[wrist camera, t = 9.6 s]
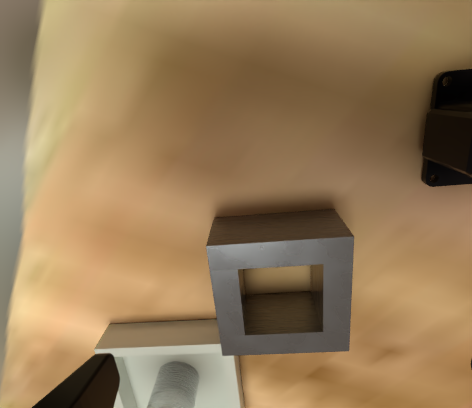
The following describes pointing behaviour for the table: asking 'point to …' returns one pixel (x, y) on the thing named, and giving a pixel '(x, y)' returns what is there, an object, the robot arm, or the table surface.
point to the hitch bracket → (282, 304)
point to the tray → (172, 349)
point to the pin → (175, 386)
